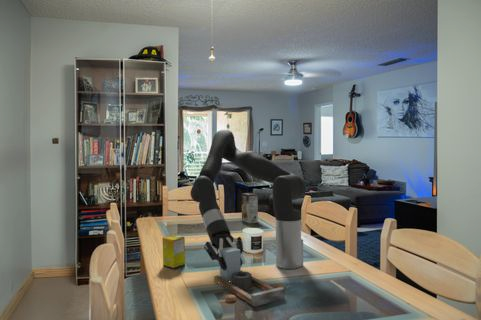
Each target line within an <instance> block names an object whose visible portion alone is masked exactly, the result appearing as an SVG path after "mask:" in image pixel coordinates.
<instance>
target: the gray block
mask: <svg viewBox="0 0 481 320" xmlns="http://www.w3.org/2000/svg"><path fill="white" fill-rule="evenodd" d="M221 252H222V257H224V260H225V262H226V265H227V269H226V270H223V269H221V267H220V266H219V276H220V277H222V278H223V279H225V280H227V281H228V282H229V281H232V274H233V273H234V272H239V271H242V270H241V268H242V267H240V257H241V255H240V250H239V249H237V247H236V248H235V247H228V248H223V249H221Z"/></svg>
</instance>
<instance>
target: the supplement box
mask: <svg viewBox="0 0 481 320" xmlns="http://www.w3.org/2000/svg"><path fill="white" fill-rule="evenodd" d="M185 248H186V245H185V236H183V235H178V234H172V235H168V236H165V237H162V267H163V268H166V269H170V270H177V269H179V268H183V267H185V266H186V251H185V250H186V249H185Z"/></svg>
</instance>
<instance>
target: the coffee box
mask: <svg viewBox="0 0 481 320" xmlns="http://www.w3.org/2000/svg"><path fill="white" fill-rule="evenodd" d="M258 197H259V194H256V193H253V192H244V193H241V221H242V222H244V223H246V224H255V223H256V224H257V223H259V217H258V216H259V215H258V214H259V213H258V211H259V210H258V209H259V204H258V203H259V202H258V201H259V199H258Z"/></svg>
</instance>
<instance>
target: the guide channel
mask: <svg viewBox="0 0 481 320" xmlns="http://www.w3.org/2000/svg"><path fill="white" fill-rule="evenodd" d="M214 279H215V280H216V281H217V282H219V283H220V284H221V285H220V284H219V283H218V284H219V285H220V286H222V285H223V286H224V287H223V286H222V287H223V288H225V289H226V288H227V290H228V291H229V292H231V293H233V294H227V295H224V296H225V302H227V303H234V302H236V301H237V297H238V298H240V299H242V300H243V301H245V302H246V303H248V304H250V305H251V306H252V307H258V306H263V305H265V304H266V305H267V304H271V303H273V302H277V301H281V300H285V296H286V293H285V292H286V291H285V289H286V288H284V284H283V283H274V284H273V286H271V285H269V284H268V283H266V282H264V281H262V280H260V279H258V278H256V277H254V276H253V275H252V286H255V287H256V288H257V287H258V288H259V289H261V290H262V291H259V292H254V293H251V294H249V293H248V292H246V291H244V289H243V290H242V289H240V288H238V287H236V286H235V285H233V284H232V282H228V281H227V280H225V279H223V278H222V277H220V274H219V275H214V276H213V280H214ZM216 281H215V282H216ZM217 282H216V283H217ZM236 296H237V297H236Z"/></svg>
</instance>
